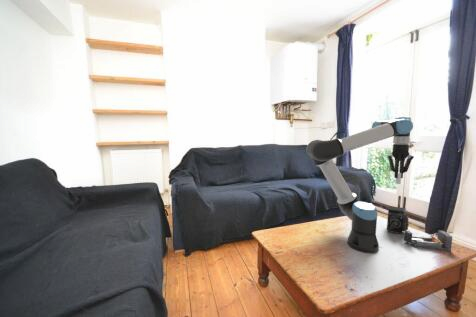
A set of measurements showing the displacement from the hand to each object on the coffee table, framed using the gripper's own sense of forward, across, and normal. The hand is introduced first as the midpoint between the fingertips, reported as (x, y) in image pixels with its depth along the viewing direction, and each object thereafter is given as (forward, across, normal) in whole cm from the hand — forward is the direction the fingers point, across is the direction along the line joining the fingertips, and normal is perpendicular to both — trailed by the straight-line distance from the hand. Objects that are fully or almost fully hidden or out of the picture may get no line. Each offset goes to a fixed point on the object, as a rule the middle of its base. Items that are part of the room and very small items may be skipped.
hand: (397, 183), depth 126 cm
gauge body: (+32, +13, -10) cm, 36 cm away
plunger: (+31, +6, -9) cm, 33 cm away
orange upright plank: (+31, +16, -9) cm, 36 cm away
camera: (+33, +4, +6) cm, 33 cm away
